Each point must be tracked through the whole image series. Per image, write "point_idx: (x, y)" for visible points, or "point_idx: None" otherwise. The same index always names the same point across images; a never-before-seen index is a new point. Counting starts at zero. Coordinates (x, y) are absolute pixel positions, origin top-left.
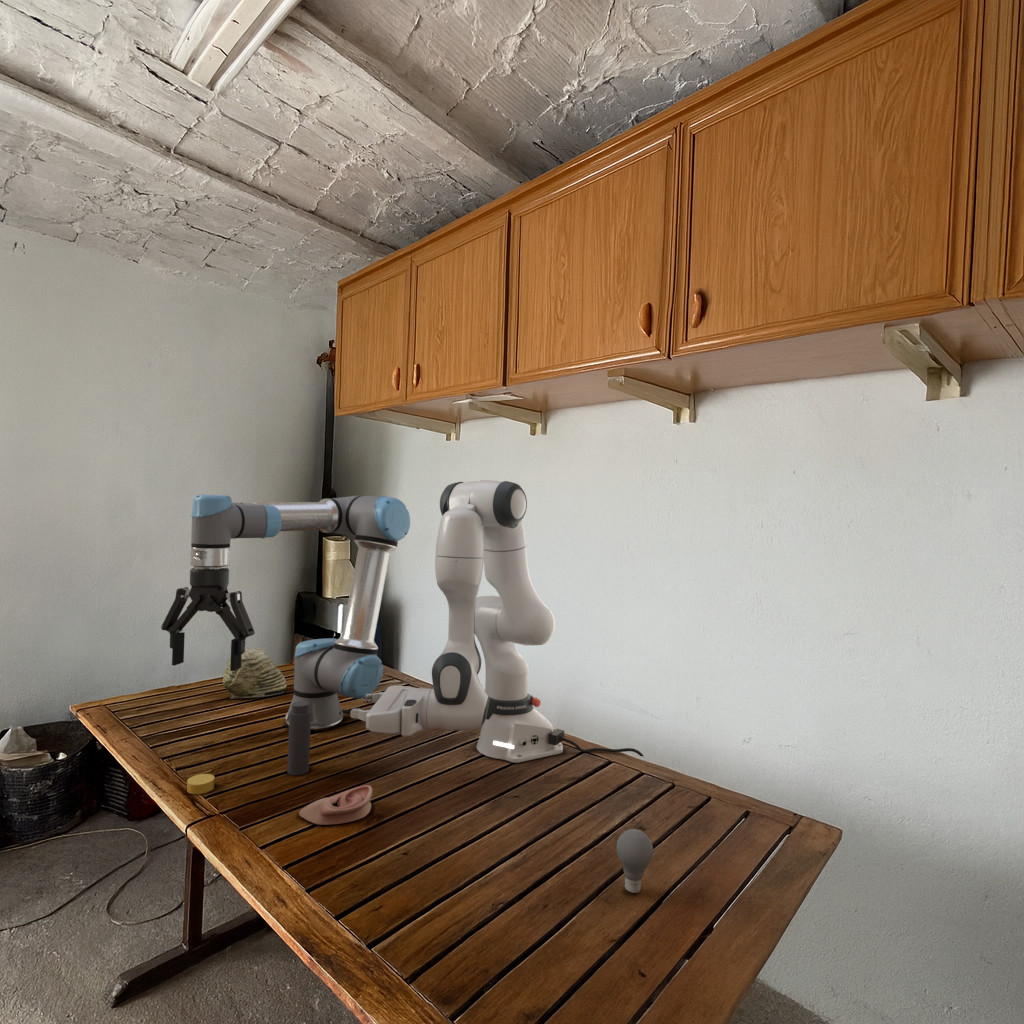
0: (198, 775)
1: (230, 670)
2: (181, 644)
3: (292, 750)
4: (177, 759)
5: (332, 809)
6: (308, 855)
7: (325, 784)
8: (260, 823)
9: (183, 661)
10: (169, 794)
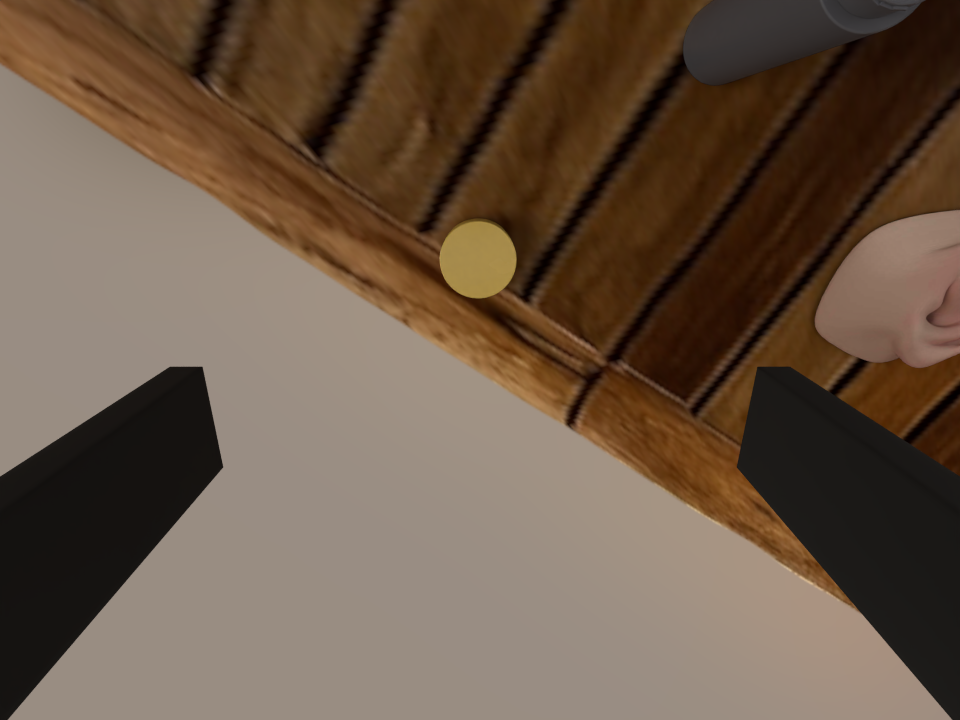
0: (454, 240)
1: (739, 467)
2: (85, 509)
3: (752, 69)
4: (251, 70)
5: (939, 357)
6: None
7: (843, 124)
8: (728, 380)
9: (198, 372)
10: (418, 306)
